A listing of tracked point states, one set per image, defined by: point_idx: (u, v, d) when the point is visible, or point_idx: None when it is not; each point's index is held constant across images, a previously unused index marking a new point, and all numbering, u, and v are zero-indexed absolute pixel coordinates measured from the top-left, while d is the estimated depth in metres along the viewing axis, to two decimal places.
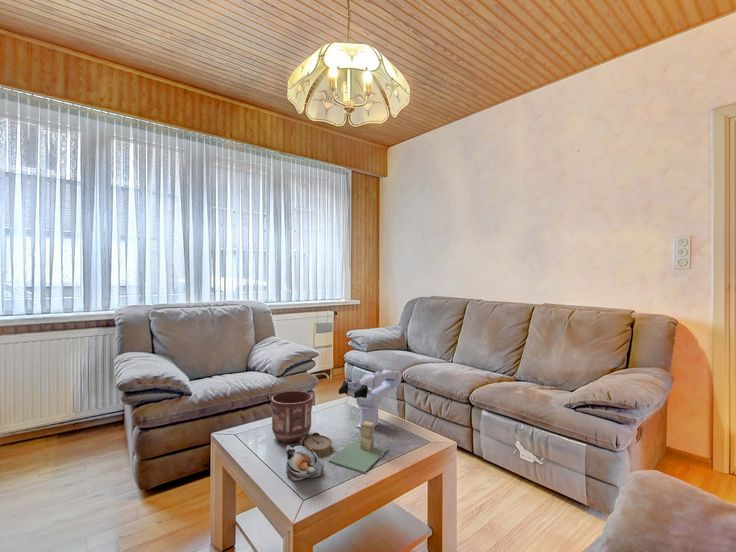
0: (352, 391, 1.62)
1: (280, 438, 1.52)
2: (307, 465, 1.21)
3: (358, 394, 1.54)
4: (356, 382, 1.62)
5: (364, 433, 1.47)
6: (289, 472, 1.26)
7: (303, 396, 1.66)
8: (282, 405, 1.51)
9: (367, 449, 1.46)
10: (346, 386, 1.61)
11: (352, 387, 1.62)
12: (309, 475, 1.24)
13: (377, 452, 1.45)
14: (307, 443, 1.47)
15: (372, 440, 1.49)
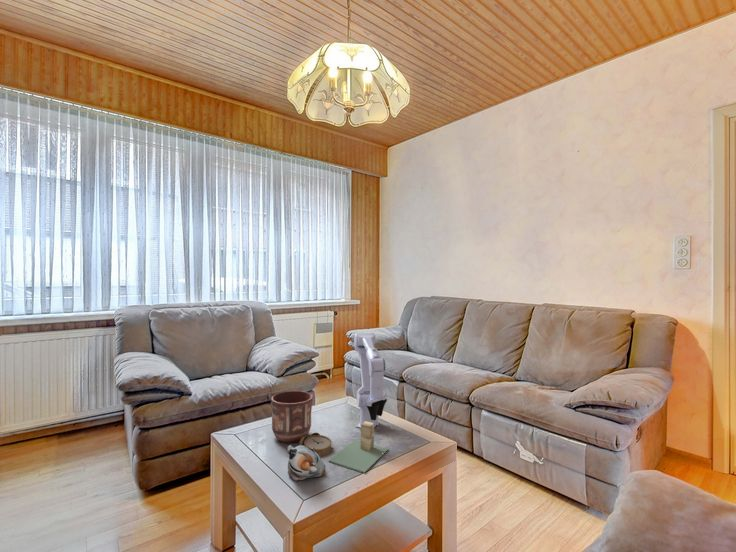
0: (370, 398, 1.55)
1: (280, 438, 1.52)
2: (309, 464, 1.21)
3: None
4: None
5: (364, 433, 1.47)
6: (291, 472, 1.26)
7: (303, 396, 1.66)
8: (282, 405, 1.51)
9: (367, 449, 1.46)
10: None
11: None
12: (311, 475, 1.24)
13: (377, 452, 1.45)
14: (307, 443, 1.47)
15: (372, 440, 1.49)
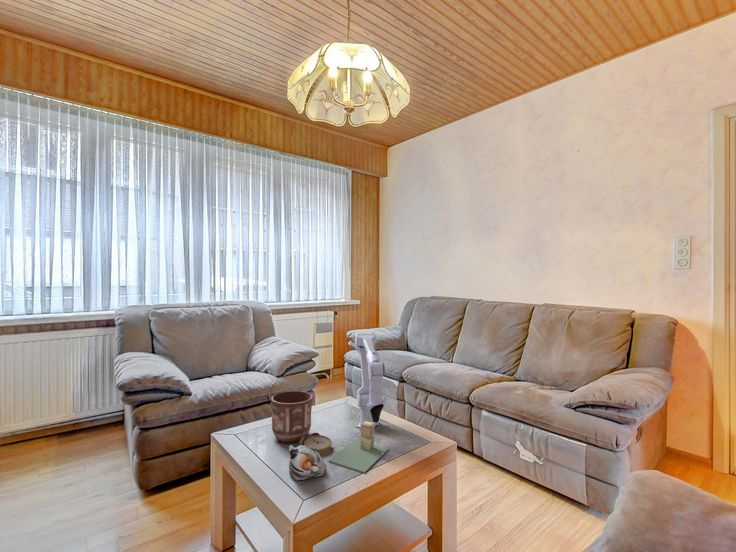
0: (370, 402, 1.54)
1: (280, 438, 1.53)
2: (311, 464, 1.22)
3: None
4: None
5: (364, 433, 1.47)
6: (292, 472, 1.26)
7: (303, 396, 1.66)
8: (282, 405, 1.51)
9: (367, 449, 1.46)
10: None
11: None
12: (312, 474, 1.25)
13: (377, 452, 1.45)
14: (307, 443, 1.47)
15: (372, 440, 1.49)
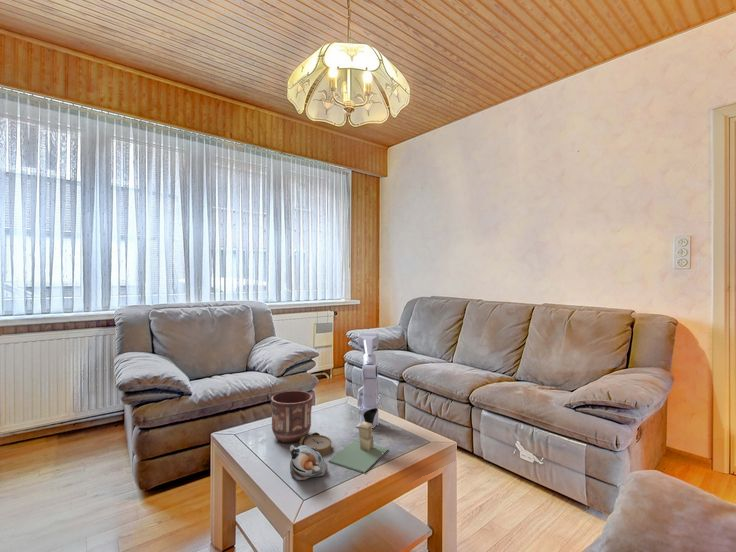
0: None
1: (280, 438, 1.53)
2: (312, 464, 1.22)
3: None
4: None
5: (363, 434, 1.46)
6: (293, 472, 1.27)
7: (303, 396, 1.66)
8: (282, 405, 1.51)
9: (367, 449, 1.46)
10: None
11: (368, 409, 1.48)
12: (314, 474, 1.25)
13: (377, 452, 1.45)
14: (307, 443, 1.47)
15: (371, 440, 1.48)
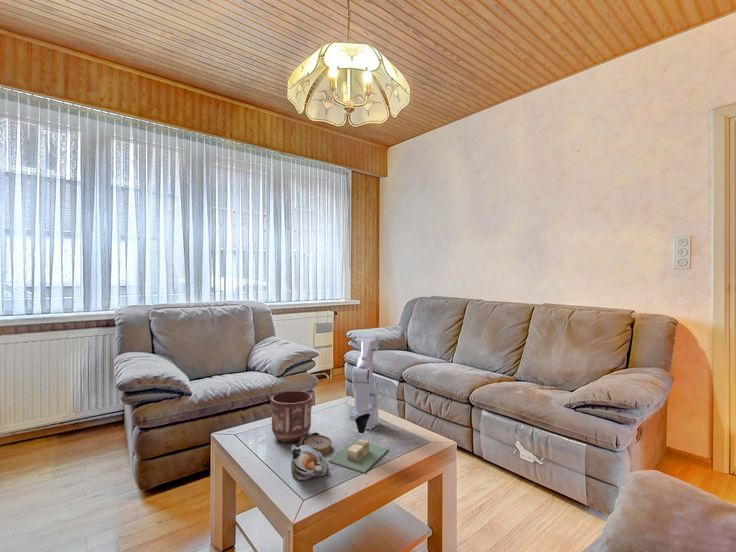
0: None
1: (280, 438, 1.53)
2: (314, 464, 1.22)
3: None
4: None
5: None
6: (295, 472, 1.27)
7: (303, 396, 1.66)
8: (282, 405, 1.51)
9: None
10: None
11: None
12: (315, 474, 1.25)
13: (377, 452, 1.45)
14: (307, 443, 1.47)
15: (365, 447, 1.43)
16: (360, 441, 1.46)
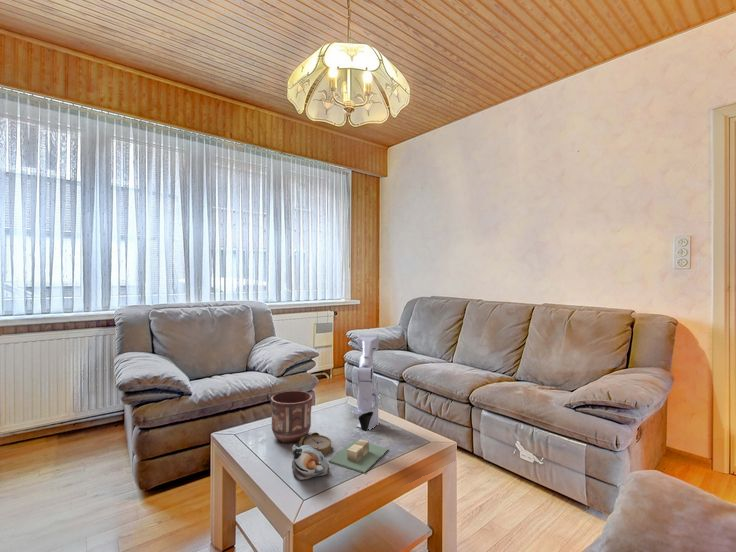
0: None
1: (280, 438, 1.53)
2: (315, 463, 1.22)
3: None
4: None
5: None
6: (296, 471, 1.27)
7: (303, 396, 1.66)
8: (282, 405, 1.51)
9: None
10: None
11: None
12: (316, 474, 1.25)
13: (377, 452, 1.45)
14: (307, 443, 1.47)
15: (365, 447, 1.43)
16: (360, 441, 1.46)
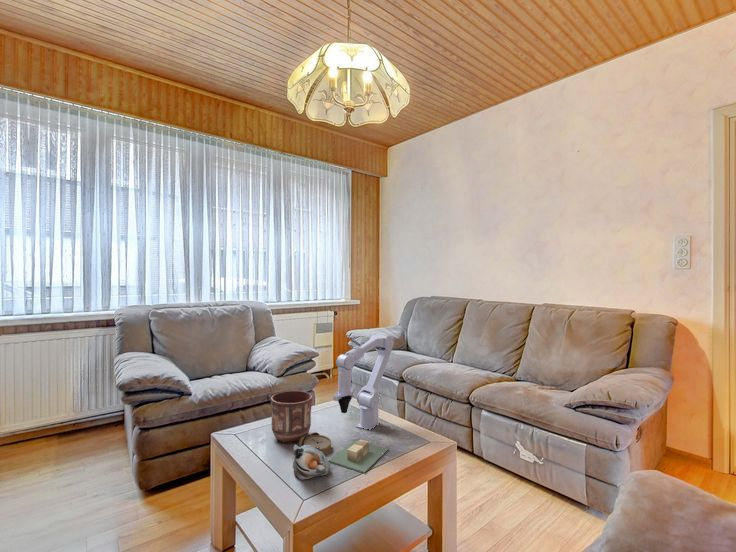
0: None
1: (280, 438, 1.53)
2: (317, 463, 1.22)
3: None
4: None
5: None
6: (297, 471, 1.27)
7: (303, 396, 1.66)
8: (282, 405, 1.51)
9: None
10: None
11: None
12: (318, 473, 1.25)
13: (377, 452, 1.45)
14: (306, 443, 1.47)
15: (365, 447, 1.43)
16: (360, 441, 1.46)
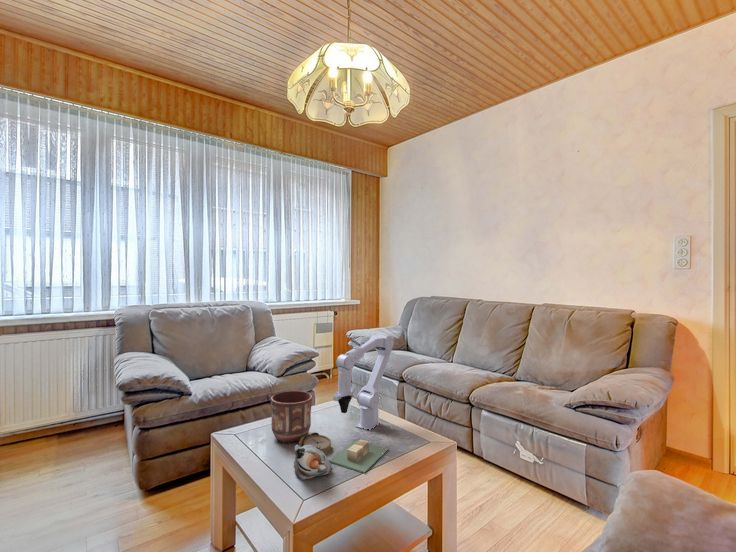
0: None
1: (280, 438, 1.53)
2: (318, 463, 1.22)
3: None
4: None
5: None
6: (298, 471, 1.27)
7: (303, 396, 1.66)
8: (282, 405, 1.51)
9: None
10: None
11: None
12: (319, 473, 1.26)
13: (377, 452, 1.45)
14: (306, 443, 1.47)
15: (365, 447, 1.43)
16: (360, 441, 1.46)
